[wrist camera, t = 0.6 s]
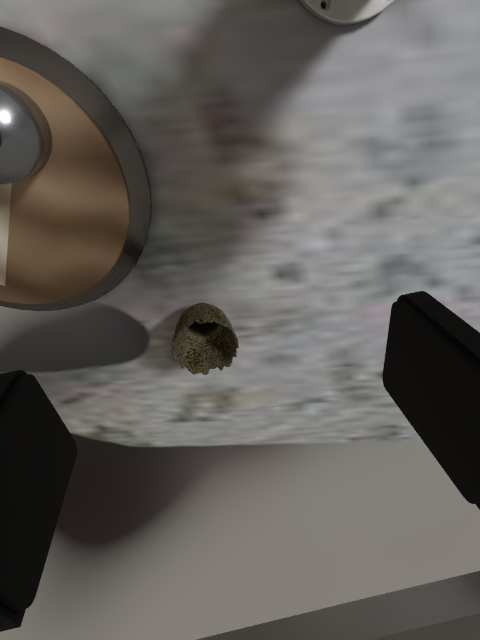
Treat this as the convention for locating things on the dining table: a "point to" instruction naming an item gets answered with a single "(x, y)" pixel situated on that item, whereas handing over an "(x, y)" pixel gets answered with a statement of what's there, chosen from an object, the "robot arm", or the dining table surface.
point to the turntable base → (121, 141)
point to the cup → (204, 339)
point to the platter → (61, 204)
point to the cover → (21, 135)
